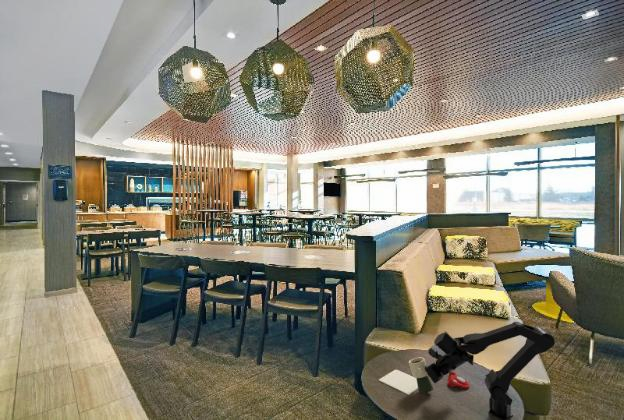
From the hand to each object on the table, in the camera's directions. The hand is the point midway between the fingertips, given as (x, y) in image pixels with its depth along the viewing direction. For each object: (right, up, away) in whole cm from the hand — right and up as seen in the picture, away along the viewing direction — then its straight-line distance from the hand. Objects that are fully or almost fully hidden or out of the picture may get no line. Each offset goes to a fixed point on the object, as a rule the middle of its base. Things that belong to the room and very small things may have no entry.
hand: (428, 375), depth 140 cm
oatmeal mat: (-9, -8, +11) cm, 16 cm away
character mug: (-1, -8, +1) cm, 8 cm away
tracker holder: (+16, -9, +9) cm, 21 cm away
